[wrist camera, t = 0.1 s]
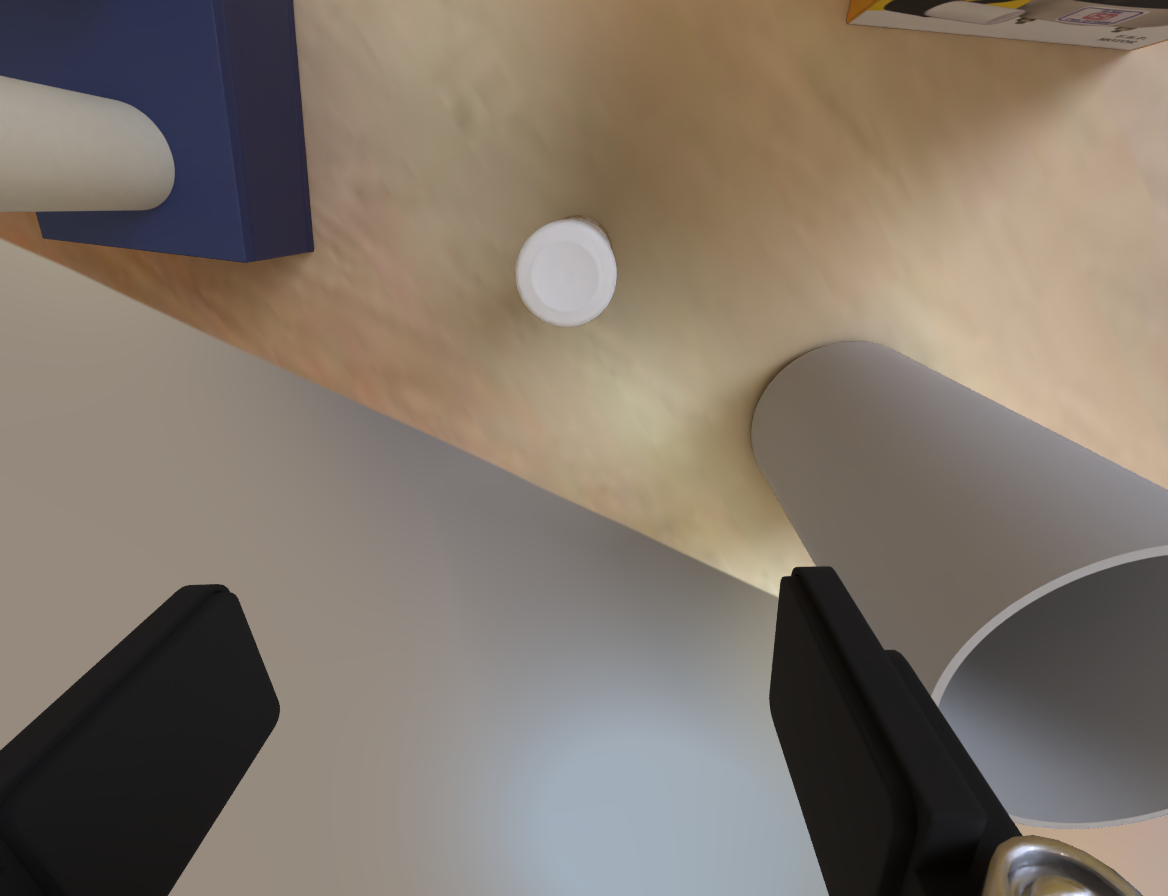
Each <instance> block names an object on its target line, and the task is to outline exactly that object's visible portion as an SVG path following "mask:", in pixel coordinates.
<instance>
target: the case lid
mask: <svg viewBox="0 0 1168 896" xmlns="http://www.w3.org/2000/svg"><path fill="white" fill-rule="evenodd" d="M0 76H4V77H9V78H14V79H18V80H23V81H28V82H32V83H37V84H42V85H47V86H51V87H56V88H61V89H65V90H70V91H75V92H79V93H84V94H89V95H94V96H98V97H103V98H108V99H112V100H117V101H121V102H124V103H127V104H129V105H131V106H133V107H135V108H136V109H138V110H139V111H141V112H142V113H144V114H145V115H146V116H147V117H148V118H149V119H150V120H151V121H152V122H153V123H154V124H155V125H156V126H157V127H158V129H159V130H160V131H161V133H162V134H163V136H164V138H165V139H166V141H167V143H168V145H169V148H170V150H171V153H172V156H173V160H174V167H175V178H174V184H173V188H172V190H171V193H170V194H169V196H168V197H167V199H166V200H165V201H164V202H163V203H161V204H160V205H159V206H157V207H155V208H152V209H148V210H123V211H44V212H36V215H37V218H38V222H39V226H40V229H41V233H42V237H43V238H44V239H52V240H60V241H69V242H77V243H85V244H94V245H102V246H110V247H119V248H127V249H135V250H144V251H152V252H160V253H169V254H177V255H185V256H194V257H202V258H210V259H219V260H227V261H235V262H244V263H248V262H254V253H253V245H252V237H251V229H250V222H249V214H248V206H247V198H246V190H245V182H244V174H243V166H242V158H241V150H240V143H239V135H238V127H237V119H236V111H235V103H234V95H233V87H232V79H231V71H230V63H229V56H228V48H227V40H226V32H225V24H224V16H223V8H222V0H0Z"/></svg>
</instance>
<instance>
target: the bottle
mask: <svg viewBox="0 0 1168 896" xmlns="http://www.w3.org/2000/svg"><path fill="white" fill-rule="evenodd" d="M174 178H175V167H174V160H173V156H172V153H171V150H170V148H169V145H168V143H167V141H166V139H165V138H164V136H163V134H162V133H161V131H160V130H159V129H158V127H157V126H156V125H155V124H154V123H153V122H152V121H151V120H150V119H149V118H148V117H147V116H146V115H145V114H144V113H142V112H141V111H139V110H138V109H136V108H135V107H133V106H131V105H129V104H127V103H124V102H121V101H117V100H112V99H108V98H103V97H98V96H94V95H89V94H84V93H79V92H75V91H70V90H65V89H61V88H56V87H51V86H47V85H42V84H37V83H32V82H28V81H23V80H18V79H14V78H9V77H4V76H0V212H44V211H123V210H148V209H152V208H155V207H157V206H159V205H160V204H161V203H163V202H164V201H165V200H166V199H167V197H168V196H169V194H170V193H171V190H172V188H173V184H174Z"/></svg>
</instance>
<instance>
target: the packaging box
mask: <svg viewBox="0 0 1168 896" xmlns="http://www.w3.org/2000/svg"><path fill="white" fill-rule="evenodd" d="M846 22H847V24H856V25H867V26H877V27H888V28H899V29H910V30H920V31H931V32H942V33H952V34H963V35H974V36H985V37H995V38H1006V39H1017V40H1027V41H1038V42H1049V43H1060V44H1070V45H1081V46H1092V47H1102V48H1113V49H1124V50H1136V49H1140V48H1143V47H1147V46H1150V45H1154V44H1157V43H1161V42H1164V41H1167V40H1168V0H851V3H850V8H849V12H848V17H847V21H846Z"/></svg>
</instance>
